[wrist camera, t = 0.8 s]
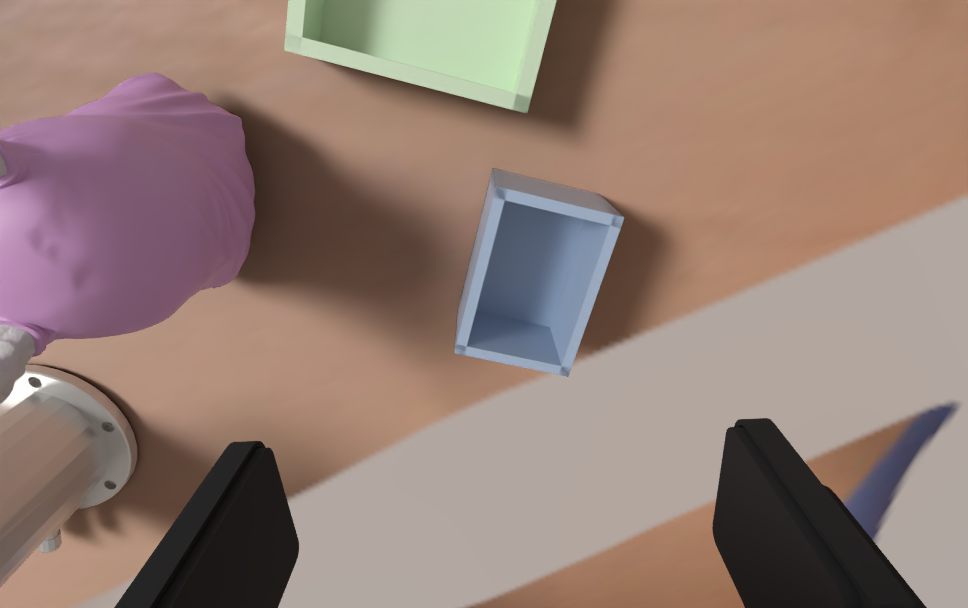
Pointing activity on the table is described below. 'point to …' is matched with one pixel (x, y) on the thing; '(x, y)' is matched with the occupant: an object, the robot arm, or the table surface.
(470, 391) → the table surface
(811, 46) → the table surface
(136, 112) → the toy character
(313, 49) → the green tray
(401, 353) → the table surface
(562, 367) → the small crate
